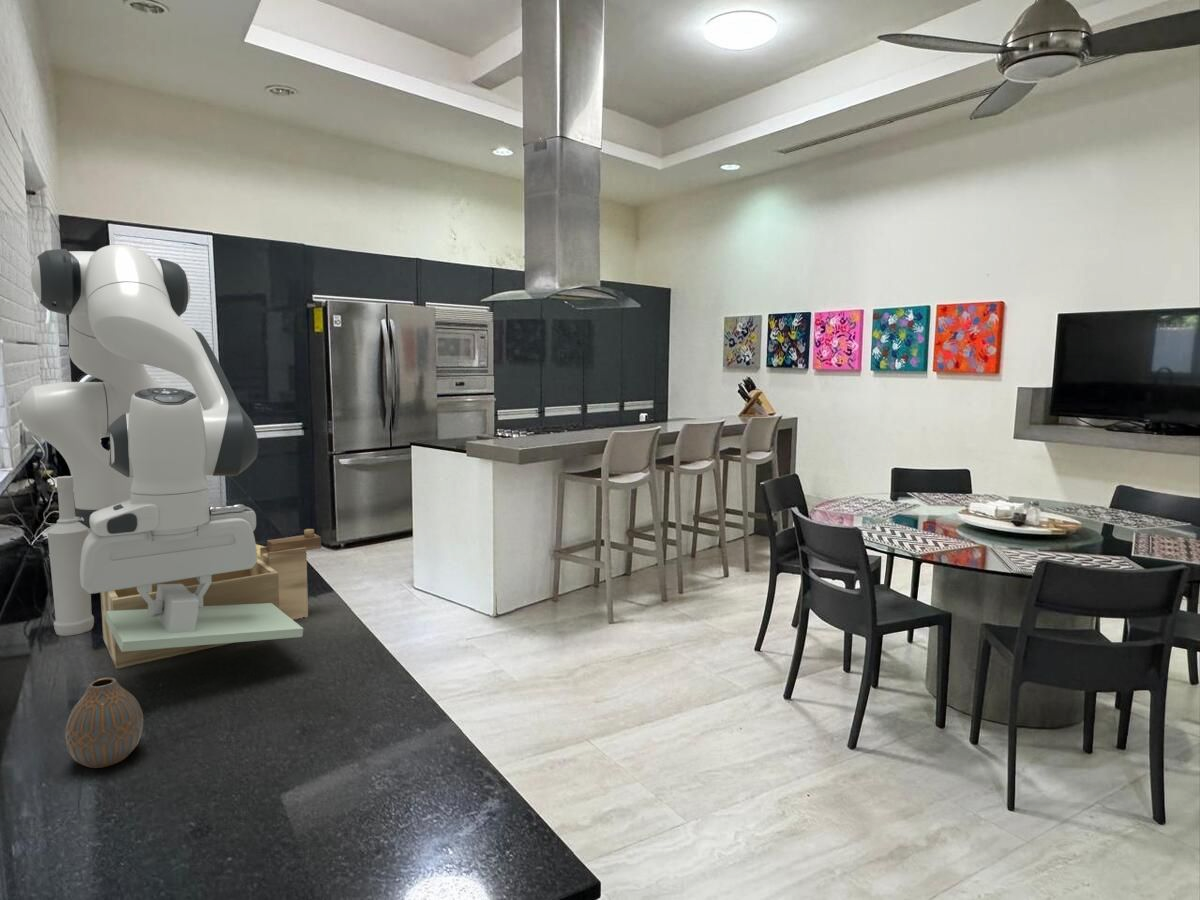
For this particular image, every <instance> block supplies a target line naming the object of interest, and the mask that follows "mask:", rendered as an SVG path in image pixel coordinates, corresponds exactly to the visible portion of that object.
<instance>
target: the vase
mask: <svg viewBox="0 0 1200 900" xmlns="http://www.w3.org/2000/svg"><path fill="white" fill-rule="evenodd" d="M143 729H144V714H143V709H142V708H141V705H140V703H139V701H138V700H137V698H136V697H135V696H134V695H133V694H132V693H130V692H129V691H128V690H127V689H125V688H124V687H123V686H121V684H120V683H119V682H118V680H117V678H114V677H102V678H97V679H95V680H93V681H91V682H90V683H89V685H88V686H87V689H86V691H85V693H84V694H83V696H82V697H81V698H80V699H79V700H78V701H77V703H76V704H75V705H74V707H73V708H72V710H71V712H70V714H69V716H68V718H67V722H66V725H65V735H64V737H65V745H66V747H67V751H68V753H69V755H70V756H71V757H72V758H73V760H74V761H75V762H76V763H78V764H80V765H82V766H84V767H87V768H91V769H100V768H101V769H102V768H106V767H111V766H113V765H115V764H118V763H120V762H121V761H124V760H125V759H126V758H127V757H128V756H129V755H130V754H131V753H132V752H134V750H135V748H136V747H137V746H138V744H139V742H140V741H141V737H142V734H143Z"/></svg>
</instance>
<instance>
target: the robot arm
mask: <svg viewBox="0 0 1200 900" xmlns="http://www.w3.org/2000/svg"><path fill="white" fill-rule="evenodd" d="M30 273H31V274H30V277H31V278H30V281H31V285H32V286H31V287H32V290H33V291H34V294H35V295H36V298H38V300H39V304H40V305H41V306H43V307H44V308H45V309H46V310H47V311H51V312H53V313H58V314H62V315H65V316H68V355H69V358H70V360H71V361H72V363H73V364H74V365H75V366H76V367H77V369H79V370H80V371H82V372H84V374H86V375H89V376H91V377H93V378H96V379H98V380H101V381H98V382H97V381H58V382H50V383H45V384H38V385H33V386H31V387H30V388H28V389H27V390H26V391H25V392H24V393H23V395H22V397H21V399H20V401H19V404H18V405H19V406H18V413H19V418H20V420H21V423H22V424H23V425H24V428H26V429H27V430H28V431H29V432H31V434H33V435H35V436H37V437H38V438H41V439H42V440H44V441H46V442H47V443H48V444H49V445H51V446H52V447H54V449H55V450H56V451H58V452H59V454H60V455H61V456H62V458H63V459H64V460H65V462H66V464H67V466H68V469H69V472H70V476H73V486H74V488H73V492H74V507H75V517H76V518H78V522H80V523H81V524H83V525H85V526H86V527H88V529H89V535H88V536H87V537H86V539H85V541H84V543H83V547H82V553H81V562H80V582H81V586H82V588H83V589H84V590H86V591H87V592H89V593H91V595H92V594H98V593H99V594H100V592H106V591H113V590H119V589H125V588H132V587H137V591H138V592H139V594H140V595H141V596H142V597H143V599H144V600H145V601H146V602H147V603H148V613H149V616H150V617H154V616H159V615H163V610H162V608H163V602H162V601H161V600H160V599H159V600H153V599H152V598H151V597H150V596H149V595H148V593H149V592H152V584H157V583H163V582H169V581H176V580H182V579H188V578H195V577H197V580H198V581H199V582H200V584H199V586H198V588H197V589H196V591H195V593H194V594H193V596H194V597H195V598H196V599H197V600H198V601H199V605H198V608H202V607H203V595H204V594H205V593H206V591H207V589H208V588H209V586H210V584H211V583H212V580H211V575H214V574H220V573H226V572H233V571H239V570H245V569H251V568H252V567H253V566H254V565H255V564H256V562H257V549H256V544H257V543H256V537H255V534H254V531H255V530H256V528H257V514H256V512H255V510H254V509H253V508H251V507H249V506H245V505H244V504H243V503H236V504H233V505H218V506H210V494H209V492H210V491H209V487H210V486H209V481H208V479H207V477H206V476H212V477H213V476H215V477H222V476H223V477H226V476H227V477H236V476H239V475H240V474H241V473H243V471H245V470H246V469H247V468H249V467H250V466H251V465H252V464H253V462H254V461H255V460H256V459H257V457H258V452H259V439H258V435H257V431H256V428H255V426H254V423H253V422H252V419H251V418H250V416H249V415H248V414H247V413H246V411H245V410H244V408H243V407H242V406H241V404H240V403H239V401H238V399H237V396H236V395H235V393H234V390H233V389H232V386H231V385H230V382H229V381H228V378H227V377H226V375H225V373H224V371H223V368H222V367H221V364H220V361H219V360H218V359H217V357H216V355H215V353H214V351H213V349H212V348H211V346H210V344H209V342H208V341H207V339H206V338H205V336H204V335H203V334H202V333H201V332H200V331H198V330H196V329H195V328H193V327H191V326H190V325H188V324H187V323H186V322H184V321H183V319H182V318H181V317H180V316H182V315H183V314H184V313H185V312H186V311H187V307H188V304H189V302H190V299H191V287H190V286H191V285H190V282H189V279H188V277H187V274H186V271H185V270H184V269H183V268H182V267H181V266H180V265H179V264H178V263H176V262H173V261H170V260H168V259H163V258H157V259H154V258H151V257H150V255H148V254H147V253H146V252H145V251H143V250H141V249H139V248H137V247H135V246H131V245H127V244H119V243H118V244H110V245H105V246H102V247H100V248H98V249H97V250H95V251H89V250H87V251H86V250H85V251H84V250H83V251H82V250H78V251H77V250H76V251H75V250H74V251H73V250H72V251H71V250H70V251H68V249H67V248H60V249H59V248H57V249H48V250H47V249H46V250H45V251H43V252H42V253H41V254H38V255H37V257H36V261H35V262H34V264H33V267H32V268H31V272H30ZM145 366H150V367H154V368H157V369H161V370H164V371H168V372H171V373H173V374H176V375H179V376H180V377H182V378H184V379H185V380H186V381H188V382H189V383H190V385H191V387H192V388H193V390H194V392H195V393H194V392H191V391H189V390H187V389H180V388H175V387H171V388H170V387H167V386H165V385H163V384H162V383H160V382H158V381H157V380H156V379H155V378H153V377H152V376H151V375H150V373H148V371H147V370H146V367H145ZM103 438H109V450H108V449H106V448H104V447H103V444H102V442H101V439H103ZM147 592H148V593H147Z"/></svg>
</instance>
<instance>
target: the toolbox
mask: <svg viewBox="0 0 1200 900" xmlns="http://www.w3.org/2000/svg"><path fill="white" fill-rule="evenodd" d="M307 559H308V557H307V550H306V548H305V547H303V548H296V549H289V550H282V551H276V552H269V553H268V552H267V546H264V547H260V559H258V558H257V562H256V564H255V565H254V566H253V567H252V568H251V569H245V570H239V571H233V572H226V573H220V574H214V575H211V580H212V583H211V584H210V586H209V588H208V589H207V591H206V593H205V594H204V595H203V606H220V605H240V604H261V603H272V604H273V605H275V606H276V607H277V608H278V609H280V610H281V611H282V612H283V613H285V614H286V615H287V616H288V617H290V618H291V619H292V620H293V621H295V620H298V619H299V618H300V619H304V618H303V617H305V618H308V617H309V607H308V606H309V602H308V600H309V599H308V598H309V597H308V569H307V568H308V560H307ZM158 584H183V585H184V586H185V587H186V588H187V589H188V590H189V591H190V592H191V593H192V594H194V593H195V591H196V589H197V588H198V586H199V584H200V582H199V581H198V580H197V577H195V578H188V579H182V580H176V581H169V582H163V583H157V584H152V592H149V593H148V592H147V593H148V595H149V596H150V597H151V598H152V599H153V600H156V593H157V586H158ZM99 594H100V609H101V625H102V626H101V627H102V639H103V641H104V645H105V646H106V648H107V651H108V653H109V655H110V658H111V660H112V662H113V664H114V666H115V668H116V670H117V669H121V668H127V667H130V666H135V665H140V664H145V663H149V662H153V661H157V660H162V659H167V658H171V657H175V656H179V655H180V656H181V655H184V654H189V653H194V652H198V651H203V650H208V649H211V648H216V647H221V646H225V645H229V644H235V643H236V642H233V643H221V644H209V645H197V646H185V647H173V648H161V649H149V650H137V651H125V652H121V650H120V648H119V646H118V644H117V642H116V640H115V638H114V636H113V634H112V632H111V630H110V628H109V626H108V624H107V622H106V620H105V617H106V611H118V610H138V609H148V603H147V602H146V601H145V600H144V599H143V597H142V596H141V595H140V594H139V592H138V591H137V587H132V588H125V589H119V590H113V591H106V592H100V593H99ZM294 619H295V620H294ZM300 619H299V620H300Z"/></svg>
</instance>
